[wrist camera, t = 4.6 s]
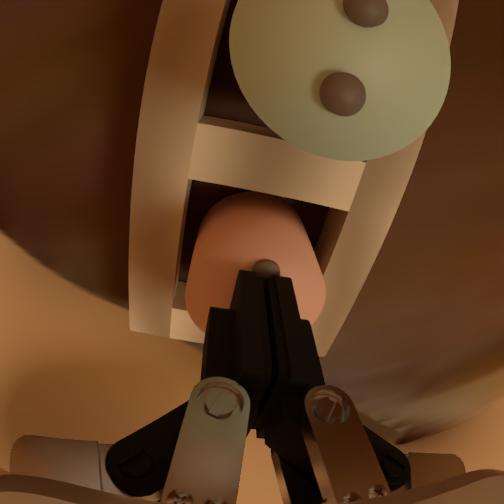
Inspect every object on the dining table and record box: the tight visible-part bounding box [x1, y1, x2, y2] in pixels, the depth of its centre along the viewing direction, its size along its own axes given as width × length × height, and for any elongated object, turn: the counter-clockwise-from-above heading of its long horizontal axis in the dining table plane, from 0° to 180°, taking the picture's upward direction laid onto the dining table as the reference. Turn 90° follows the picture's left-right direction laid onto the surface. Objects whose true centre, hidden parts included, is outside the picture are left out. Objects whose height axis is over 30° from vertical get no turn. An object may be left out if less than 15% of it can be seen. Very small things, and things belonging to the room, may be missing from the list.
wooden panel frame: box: [129, 0, 459, 357], centre depth 10 cm, size 10×26×2 cm, turn 167°
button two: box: [229, 0, 451, 161], centre depth 7 cm, size 5×5×4 cm
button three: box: [185, 191, 326, 333], centre depth 12 cm, size 5×5×4 cm
